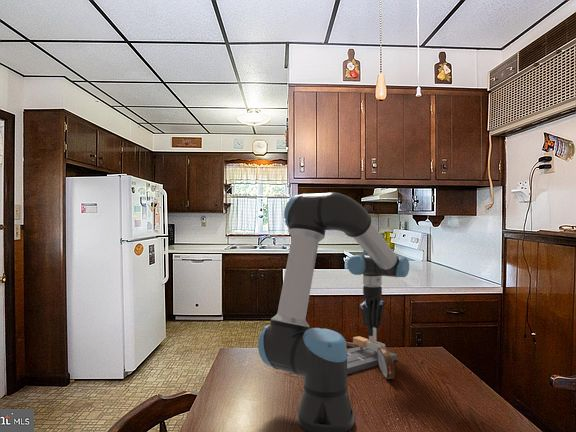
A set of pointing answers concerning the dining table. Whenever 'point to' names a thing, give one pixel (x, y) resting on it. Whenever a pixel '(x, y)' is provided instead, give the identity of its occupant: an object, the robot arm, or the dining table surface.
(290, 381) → the dining table surface
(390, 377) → the tin
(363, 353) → the console
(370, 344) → the fader cream
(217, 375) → the dining table surface
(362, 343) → the fader orange
